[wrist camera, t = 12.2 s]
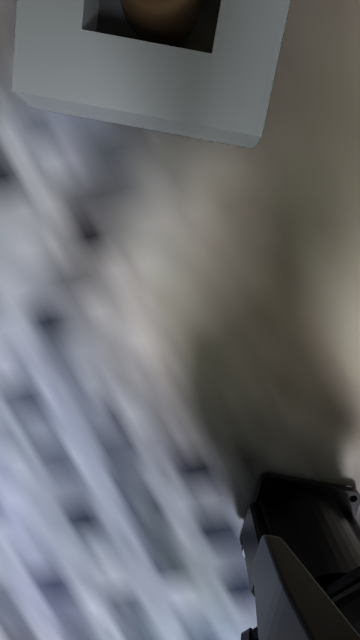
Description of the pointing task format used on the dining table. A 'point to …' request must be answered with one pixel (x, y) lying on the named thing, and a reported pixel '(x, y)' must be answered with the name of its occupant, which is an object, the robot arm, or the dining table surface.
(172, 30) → the tall pin
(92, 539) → the dining table surface
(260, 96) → the hole plate
